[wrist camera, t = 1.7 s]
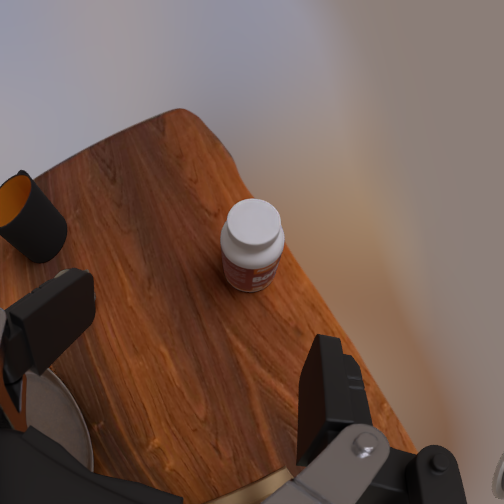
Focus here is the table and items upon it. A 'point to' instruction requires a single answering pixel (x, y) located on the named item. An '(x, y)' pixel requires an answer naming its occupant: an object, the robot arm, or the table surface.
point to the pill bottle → (251, 244)
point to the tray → (256, 489)
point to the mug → (30, 219)
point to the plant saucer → (58, 415)
